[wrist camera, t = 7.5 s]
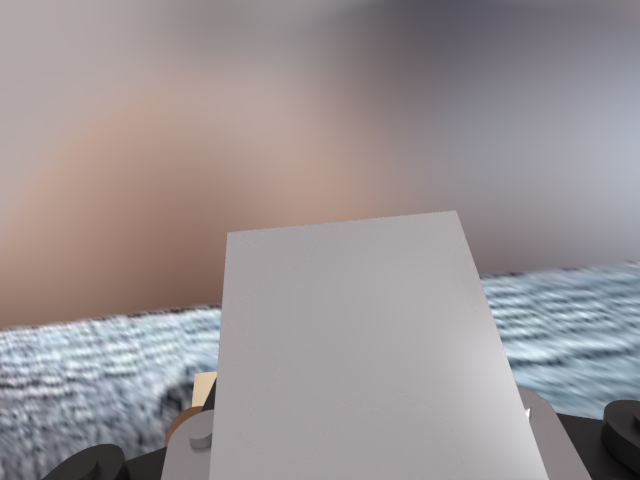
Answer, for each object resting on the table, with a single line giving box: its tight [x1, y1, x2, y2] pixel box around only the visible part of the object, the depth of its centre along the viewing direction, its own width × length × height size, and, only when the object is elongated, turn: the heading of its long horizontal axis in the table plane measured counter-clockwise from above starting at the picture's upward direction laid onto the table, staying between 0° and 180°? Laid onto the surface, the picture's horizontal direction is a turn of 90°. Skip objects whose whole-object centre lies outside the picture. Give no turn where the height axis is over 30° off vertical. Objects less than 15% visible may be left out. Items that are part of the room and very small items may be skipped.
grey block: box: [209, 211, 549, 480], centre depth 9 cm, size 4×6×10 cm
